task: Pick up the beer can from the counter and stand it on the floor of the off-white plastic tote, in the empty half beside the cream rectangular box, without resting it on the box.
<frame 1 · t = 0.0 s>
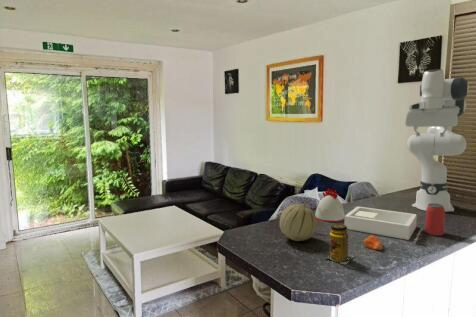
hand: (429, 136, 147), 39 cm above the counter, tool pointing down, fingers open, 8 cm apart
rock: (373, 249, 123), on the counter
cream rectangular box: (365, 225, 145), point 1 cm above the counter, touching tote
beer can: (434, 233, 135), on the counter
tote: (380, 229, 141), on the counter
kitchen timer: (329, 219, 158), on the counter
cantaloupe: (298, 240, 133), on the counter
condiment: (340, 258, 115), on the counter
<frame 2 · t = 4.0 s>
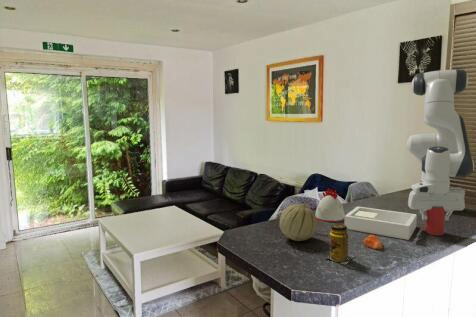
hand: (435, 220, 135), 6 cm above the counter, tool pointing down, fingers closed on beer can, 7 cm apart
beer can: (434, 233, 135), on the counter, touching gripper
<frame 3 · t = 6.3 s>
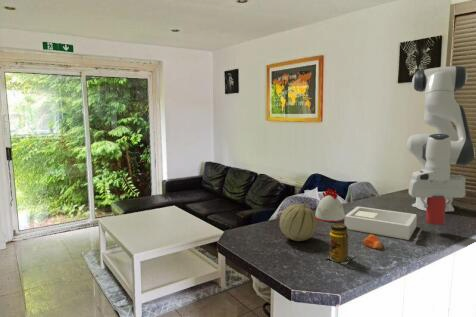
hand: (435, 207, 134), 11 cm above the counter, tool pointing down, fingers closed on beer can, 7 cm apart
beer can: (435, 223, 135), point 4 cm above the counter, touching gripper
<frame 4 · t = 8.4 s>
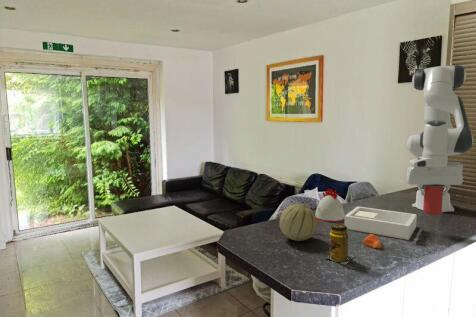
hand: (433, 195, 134), 16 cm above the counter, tool pointing down, fingers closed on beer can, 7 cm apart
beer can: (432, 213, 134), point 8 cm above the counter, touching gripper
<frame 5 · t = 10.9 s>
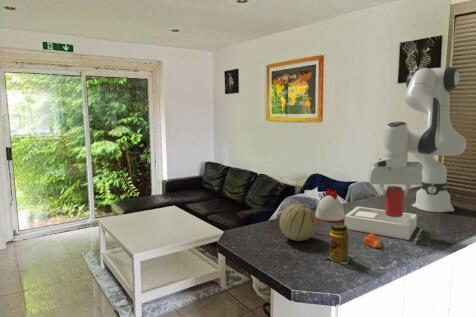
hand: (394, 194, 136), 16 cm above the counter, tool pointing down, fingers closed on beer can, 7 cm apart
beer can: (393, 215, 137), point 7 cm above the counter, touching gripper
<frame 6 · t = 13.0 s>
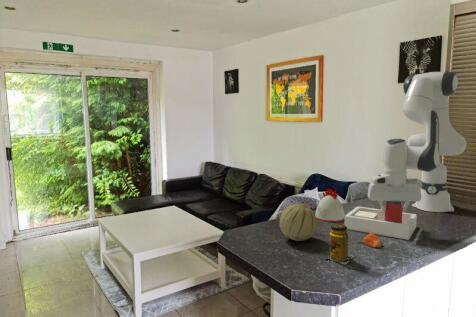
hand: (393, 211, 137), 9 cm above the counter, tool pointing down, fingers closed on beer can, 7 cm apart
beer can: (392, 230, 138), point 1 cm above the counter, touching gripper, tote
when the fingers open (8 cm above the counter, at t = 14.2 s): beer can stays where it is, resting on tote.
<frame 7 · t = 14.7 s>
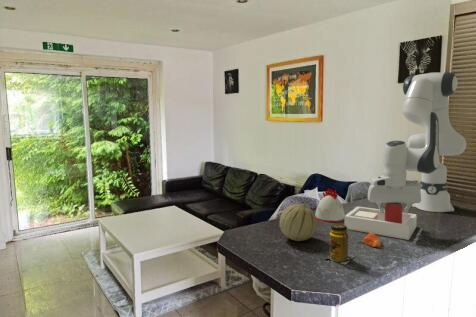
hand: (393, 212, 137), 8 cm above the counter, tool pointing down, fingers open, 8 cm apart
beer can: (392, 230, 138), point 1 cm above the counter, touching tote
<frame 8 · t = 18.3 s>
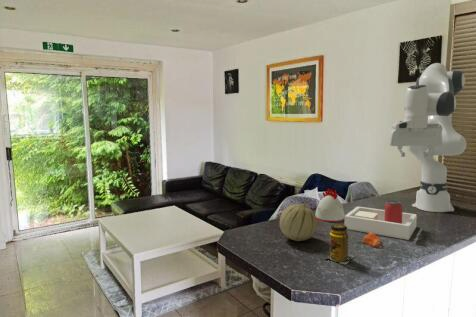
hand: (414, 156, 140), 31 cm above the counter, tool pointing down, fingers open, 8 cm apart
at the end: beer can inside the target area on the tote (0.7 cm from its centre), point 0.8 cm above the tote's base; beer can tilted 0°; cream rectangular box moved 0.0 cm from its start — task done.
